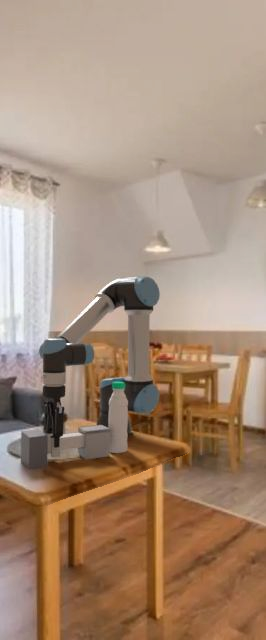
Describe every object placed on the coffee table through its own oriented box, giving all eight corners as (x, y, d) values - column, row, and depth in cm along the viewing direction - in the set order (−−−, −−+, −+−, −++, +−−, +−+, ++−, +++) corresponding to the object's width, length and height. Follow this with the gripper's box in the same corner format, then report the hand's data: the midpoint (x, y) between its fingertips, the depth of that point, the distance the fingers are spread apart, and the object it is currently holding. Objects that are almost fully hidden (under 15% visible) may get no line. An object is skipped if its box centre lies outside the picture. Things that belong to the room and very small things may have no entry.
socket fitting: (38, 458, 157) (38, 429, 157) (47, 466, 149) (47, 435, 149) (20, 461, 154) (21, 431, 154) (28, 469, 146) (29, 437, 146)
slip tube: (86, 443, 163) (86, 431, 163) (91, 446, 160) (91, 434, 160) (33, 449, 154) (33, 437, 154) (37, 453, 150) (37, 440, 150)
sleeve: (101, 450, 168) (101, 424, 168) (109, 456, 162) (110, 428, 162) (77, 454, 163) (78, 427, 163) (85, 459, 157) (86, 431, 157)
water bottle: (124, 454, 164) (126, 383, 164) (105, 453, 165) (106, 382, 165) (129, 449, 171) (130, 381, 171) (110, 447, 172) (111, 380, 172)
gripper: (35, 382, 161) (34, 449, 161) (52, 389, 146) (50, 463, 146) (55, 381, 164) (54, 447, 164) (74, 387, 149) (73, 460, 149)
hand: (52, 454), depth 155 cm, fingers closed on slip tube, 4 cm apart
